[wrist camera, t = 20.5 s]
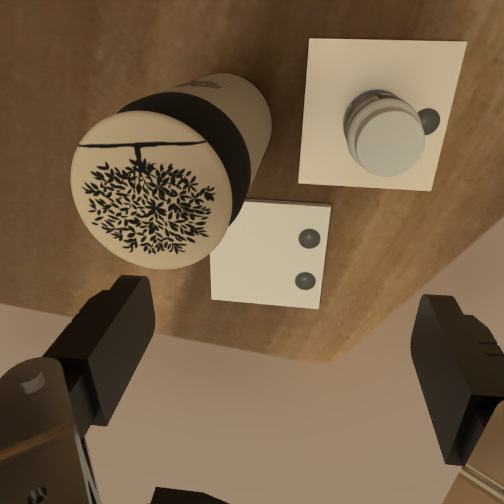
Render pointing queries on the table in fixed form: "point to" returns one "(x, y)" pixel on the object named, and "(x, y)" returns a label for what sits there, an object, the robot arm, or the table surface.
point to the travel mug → (172, 170)
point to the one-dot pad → (369, 78)
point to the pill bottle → (383, 133)
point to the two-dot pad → (272, 254)
